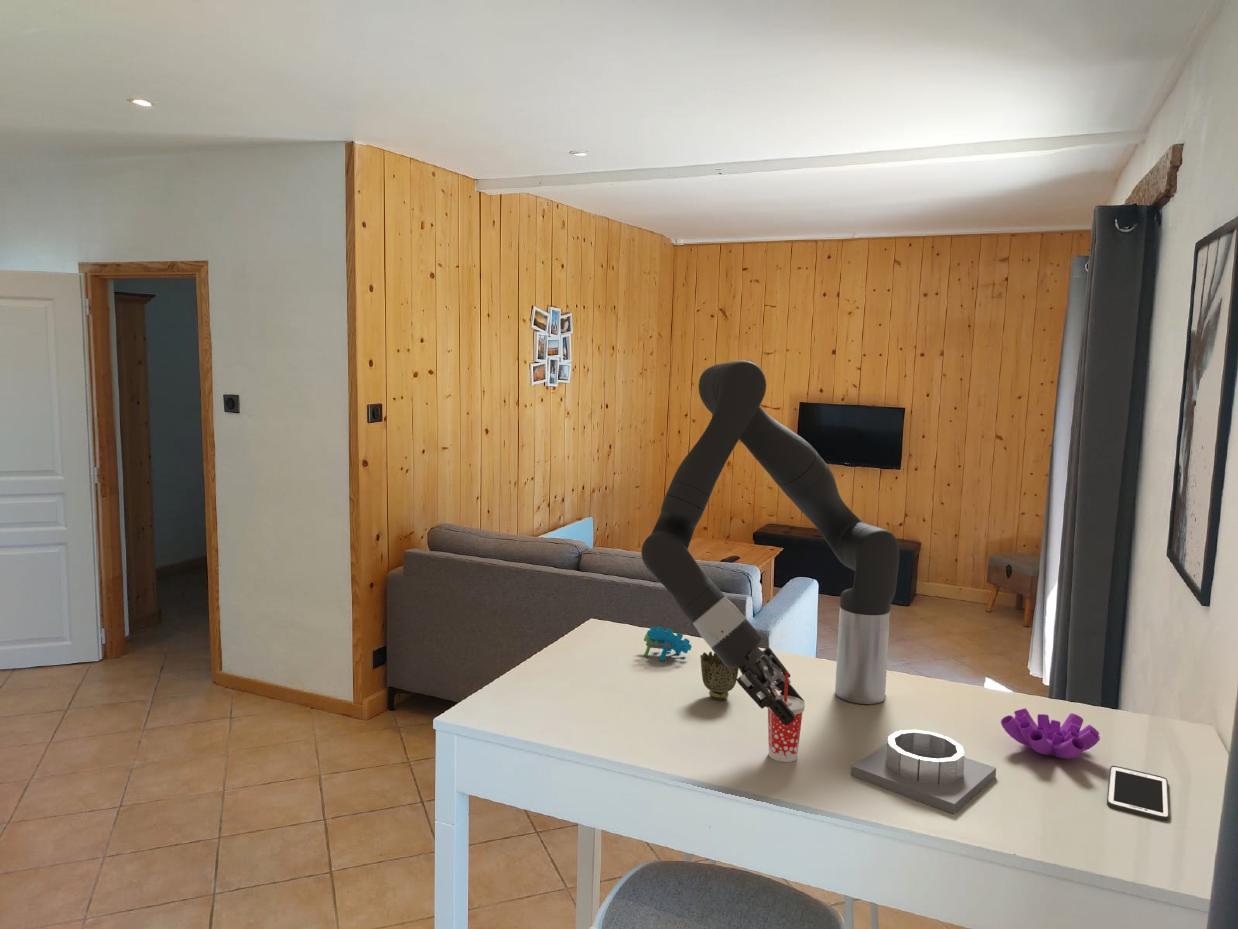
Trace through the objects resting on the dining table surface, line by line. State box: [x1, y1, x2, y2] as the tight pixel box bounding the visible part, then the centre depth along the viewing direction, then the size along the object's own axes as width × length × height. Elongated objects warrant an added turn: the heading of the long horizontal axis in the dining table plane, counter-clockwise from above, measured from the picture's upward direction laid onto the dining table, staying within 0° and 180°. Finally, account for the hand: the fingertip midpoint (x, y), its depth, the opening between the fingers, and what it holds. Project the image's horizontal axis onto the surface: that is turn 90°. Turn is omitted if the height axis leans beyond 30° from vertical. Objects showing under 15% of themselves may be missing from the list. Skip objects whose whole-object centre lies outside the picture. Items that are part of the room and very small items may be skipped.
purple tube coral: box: [1000, 707, 1101, 760], centre depth 140 cm, size 11×15×10 cm
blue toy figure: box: [643, 626, 692, 662], centre depth 182 cm, size 11×6×10 cm
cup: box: [700, 651, 740, 701], centre depth 160 cm, size 8×7×8 cm
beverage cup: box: [767, 671, 806, 763], centre depth 136 cm, size 6×6×14 cm
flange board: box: [850, 742, 997, 815], centre depth 131 cm, size 16×16×2 cm
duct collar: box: [886, 729, 966, 785], centre depth 131 cm, size 11×11×4 cm
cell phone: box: [1106, 765, 1170, 822], centre depth 127 cm, size 8×15×1 cm, turn 148°
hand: (795, 714), depth 136 cm, fingers closed on beverage cup, 6 cm apart
